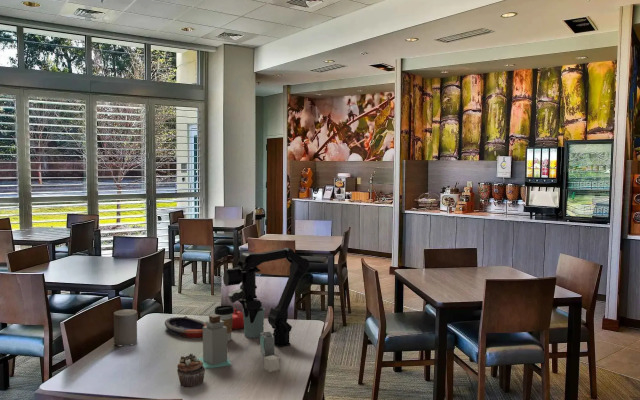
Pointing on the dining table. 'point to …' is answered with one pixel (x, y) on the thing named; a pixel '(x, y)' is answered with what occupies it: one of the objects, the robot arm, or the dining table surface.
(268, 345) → the napkin dispenser
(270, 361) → the grey block
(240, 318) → the pomegranate
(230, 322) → the coffee cup
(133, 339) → the pillar candle
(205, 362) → the teal tile
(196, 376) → the cupcake
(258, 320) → the drinking glass
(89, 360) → the dining table surface
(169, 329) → the inflatable boat
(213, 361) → the perfume bottle
